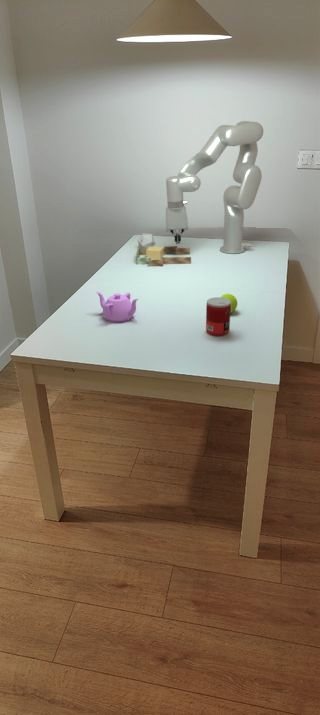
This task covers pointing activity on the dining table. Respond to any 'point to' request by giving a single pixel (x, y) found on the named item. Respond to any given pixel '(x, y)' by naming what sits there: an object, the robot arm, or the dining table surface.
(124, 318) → the teapot
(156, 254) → the block
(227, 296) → the tennis ball
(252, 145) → the robot arm
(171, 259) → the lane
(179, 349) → the dining table surface
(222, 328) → the canned food
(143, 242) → the die
